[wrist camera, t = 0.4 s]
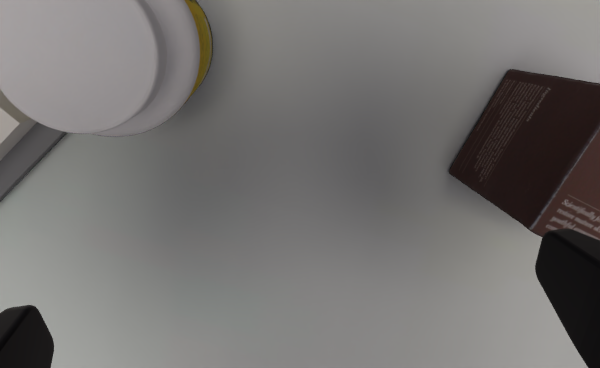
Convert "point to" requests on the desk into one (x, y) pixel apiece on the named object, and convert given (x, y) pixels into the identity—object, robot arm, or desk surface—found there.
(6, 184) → the rail plate
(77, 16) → the supplement bottle
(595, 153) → the box
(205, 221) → the desk surface
